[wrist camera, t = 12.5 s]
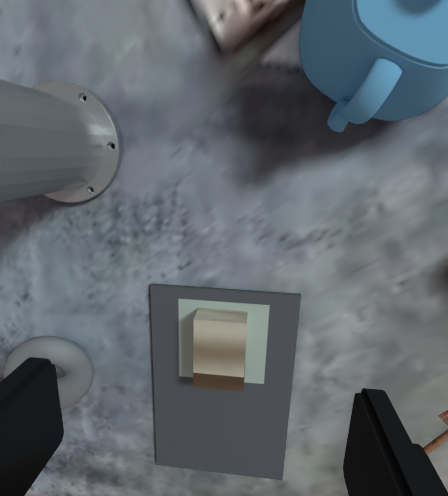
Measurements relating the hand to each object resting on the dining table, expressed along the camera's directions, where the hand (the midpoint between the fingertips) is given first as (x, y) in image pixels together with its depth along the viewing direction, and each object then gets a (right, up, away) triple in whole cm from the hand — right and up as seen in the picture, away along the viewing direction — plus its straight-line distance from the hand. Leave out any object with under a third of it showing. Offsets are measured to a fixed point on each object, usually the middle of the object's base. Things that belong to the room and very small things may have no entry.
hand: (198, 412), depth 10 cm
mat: (0, -13, +33) cm, 36 cm away
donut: (-19, -8, +34) cm, 40 cm away
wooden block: (+1, -7, +31) cm, 32 cm away
